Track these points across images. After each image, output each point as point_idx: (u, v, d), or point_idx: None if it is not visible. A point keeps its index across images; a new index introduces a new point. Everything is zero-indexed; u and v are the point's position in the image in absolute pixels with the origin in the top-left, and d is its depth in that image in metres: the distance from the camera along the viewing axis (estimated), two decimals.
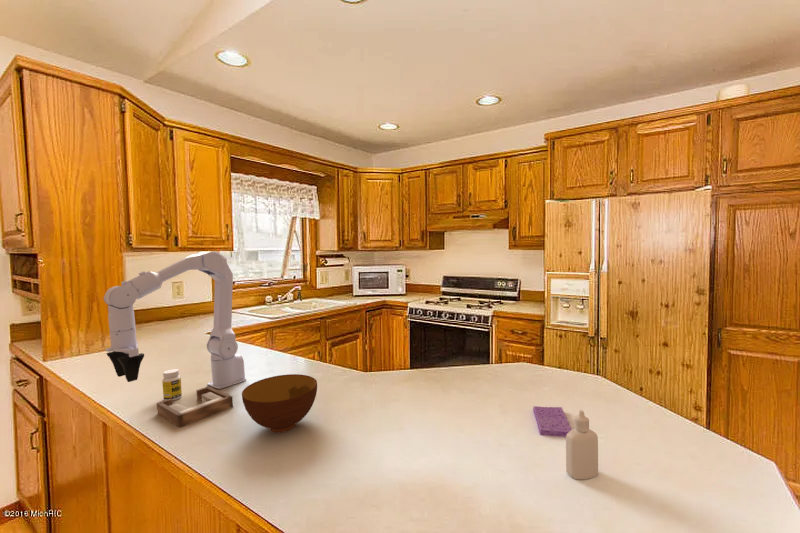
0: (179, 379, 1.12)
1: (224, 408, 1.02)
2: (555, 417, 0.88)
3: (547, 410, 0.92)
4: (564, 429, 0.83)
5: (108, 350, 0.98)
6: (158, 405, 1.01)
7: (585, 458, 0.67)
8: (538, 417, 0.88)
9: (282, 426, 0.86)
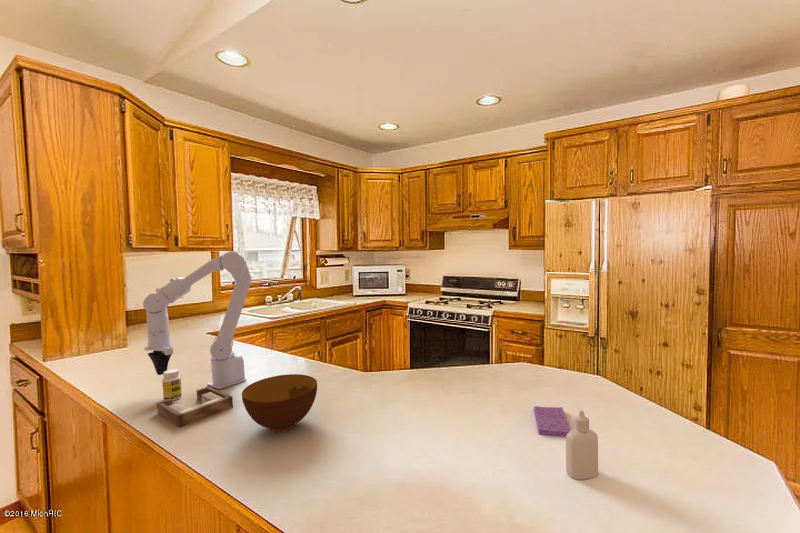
0: (179, 379, 1.12)
1: (224, 408, 1.02)
2: (555, 417, 0.88)
3: (547, 411, 0.92)
4: (563, 429, 0.83)
5: (146, 349, 1.12)
6: (158, 405, 1.01)
7: (585, 458, 0.67)
8: (537, 417, 0.89)
9: (282, 426, 0.86)
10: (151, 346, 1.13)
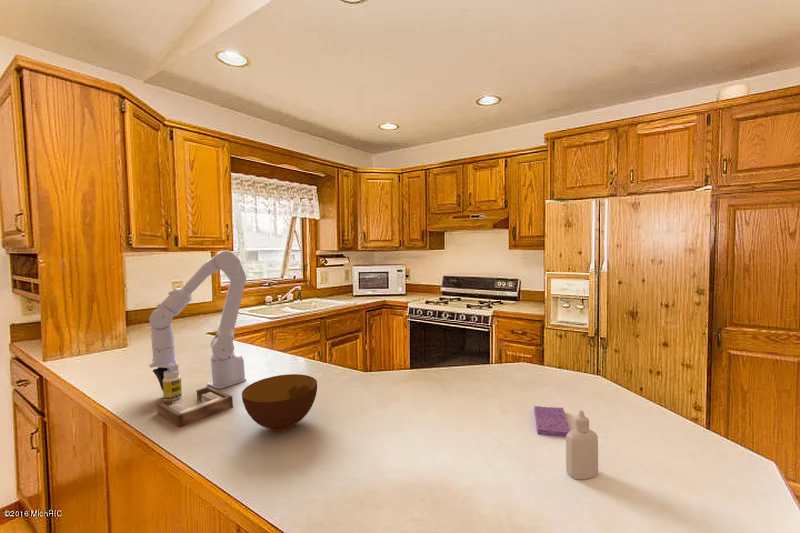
0: (179, 379, 1.12)
1: (224, 408, 1.02)
2: (555, 417, 0.88)
3: (548, 411, 0.92)
4: (562, 429, 0.83)
5: (151, 366, 1.11)
6: (158, 405, 1.01)
7: (585, 458, 0.67)
8: (537, 417, 0.89)
9: (282, 426, 0.86)
10: (156, 363, 1.11)
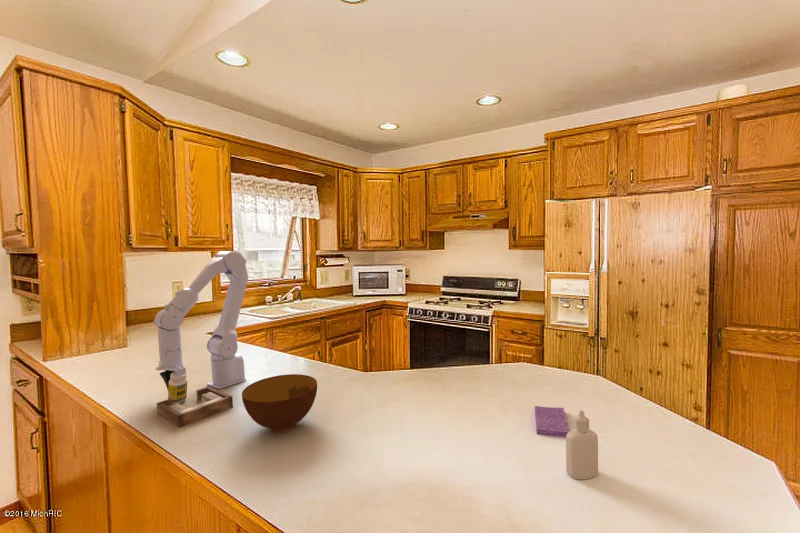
0: (185, 383, 1.09)
1: (224, 408, 1.02)
2: (554, 417, 0.88)
3: (548, 411, 0.92)
4: (561, 429, 0.83)
5: (158, 369, 1.07)
6: (158, 405, 1.01)
7: (585, 458, 0.67)
8: (537, 417, 0.89)
9: (282, 426, 0.86)
10: (163, 365, 1.08)
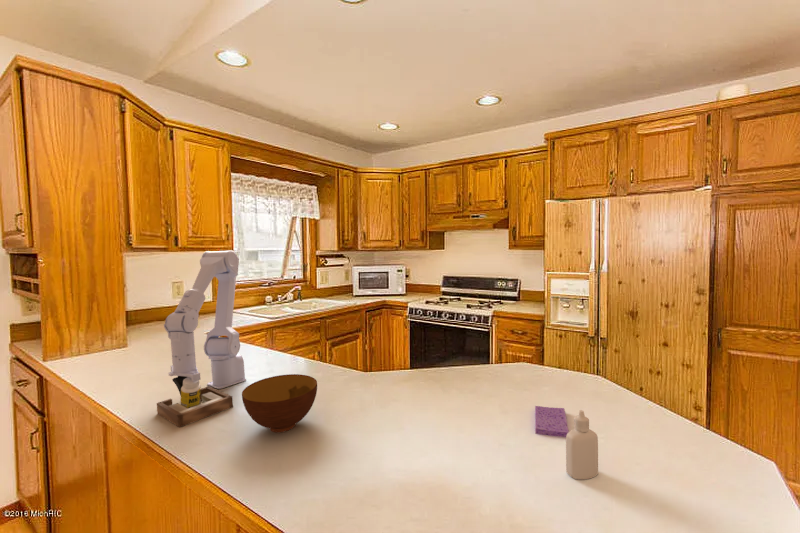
0: (198, 390, 1.03)
1: (224, 408, 1.02)
2: (554, 417, 0.88)
3: (548, 411, 0.92)
4: (560, 429, 0.83)
5: (171, 374, 1.02)
6: (158, 405, 1.01)
7: (585, 458, 0.67)
8: (536, 417, 0.89)
9: (282, 426, 0.86)
10: (176, 371, 1.03)
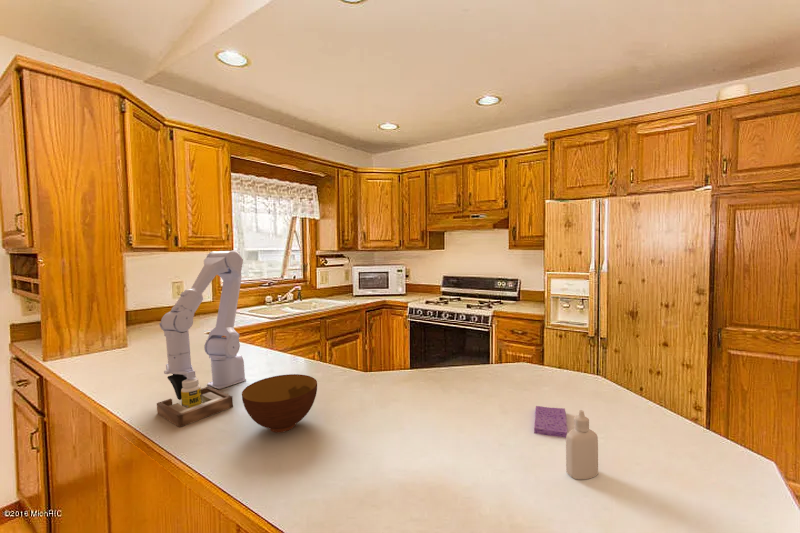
0: (198, 389, 1.03)
1: (224, 408, 1.02)
2: (554, 417, 0.88)
3: (548, 411, 0.92)
4: (559, 429, 0.83)
5: (166, 372, 1.04)
6: (158, 405, 1.01)
7: (585, 458, 0.67)
8: (536, 416, 0.89)
9: (282, 426, 0.86)
10: (171, 369, 1.05)
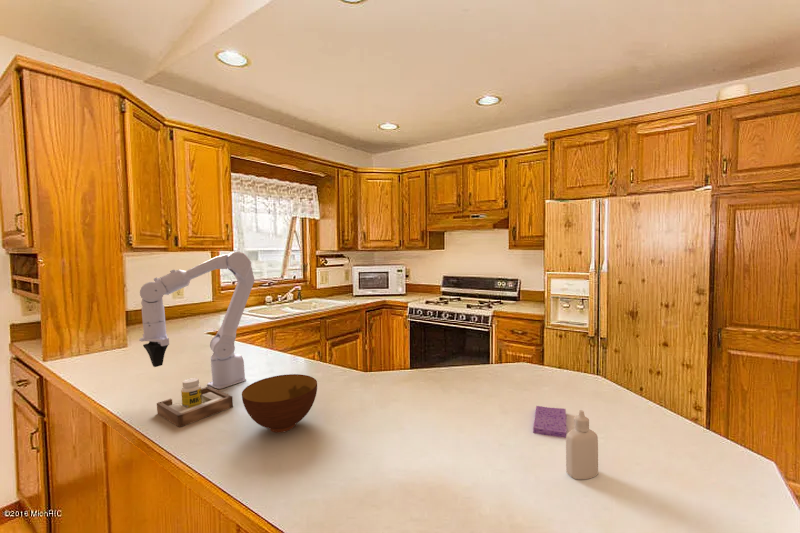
0: (198, 389, 1.03)
1: (224, 408, 1.02)
2: (554, 417, 0.88)
3: (549, 411, 0.92)
4: (558, 429, 0.83)
5: (141, 340, 1.08)
6: (158, 405, 1.01)
7: (585, 458, 0.67)
8: (536, 416, 0.89)
9: (282, 426, 0.86)
10: (146, 337, 1.09)
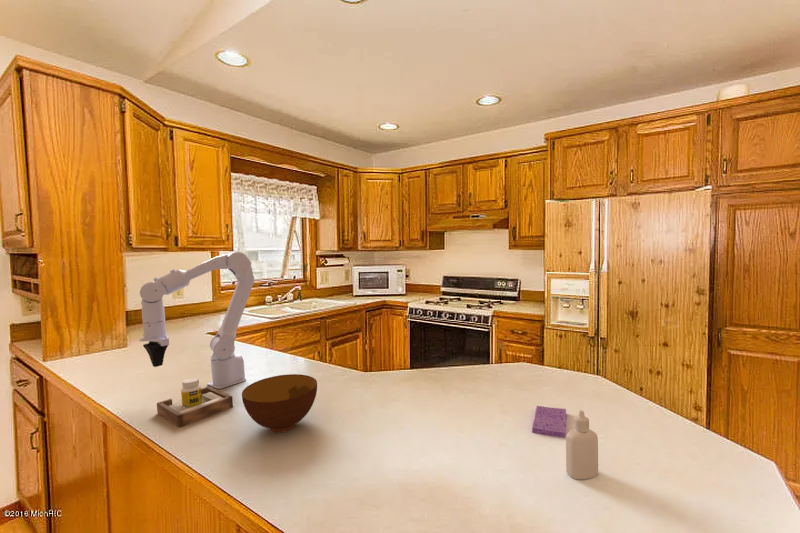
0: (198, 389, 1.03)
1: (224, 408, 1.02)
2: (554, 417, 0.88)
3: (549, 411, 0.92)
4: (557, 429, 0.83)
5: (141, 340, 1.08)
6: (158, 405, 1.01)
7: (585, 458, 0.67)
8: (536, 416, 0.89)
9: (282, 426, 0.86)
10: (146, 337, 1.09)
